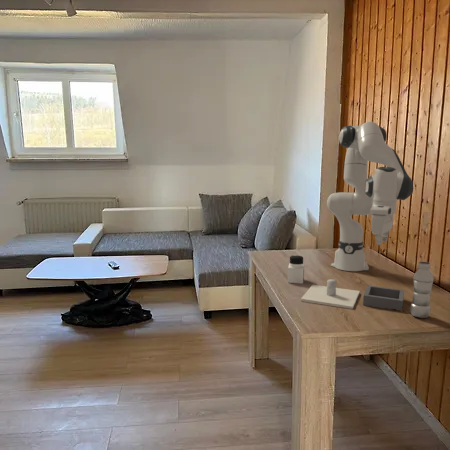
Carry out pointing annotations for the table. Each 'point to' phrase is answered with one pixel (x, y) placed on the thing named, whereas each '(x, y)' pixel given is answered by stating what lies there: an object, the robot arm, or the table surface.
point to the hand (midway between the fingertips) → (381, 243)
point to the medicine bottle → (296, 269)
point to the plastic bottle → (422, 291)
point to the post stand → (331, 295)
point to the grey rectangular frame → (383, 297)
